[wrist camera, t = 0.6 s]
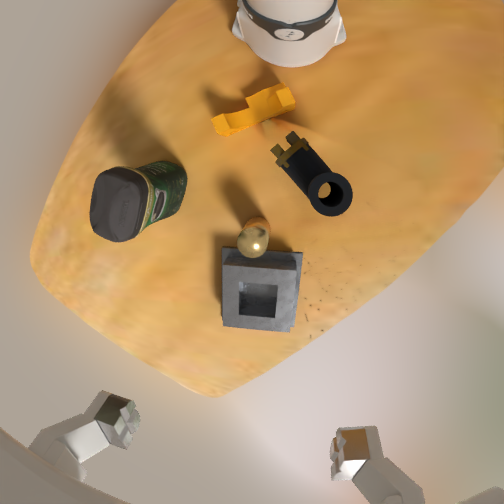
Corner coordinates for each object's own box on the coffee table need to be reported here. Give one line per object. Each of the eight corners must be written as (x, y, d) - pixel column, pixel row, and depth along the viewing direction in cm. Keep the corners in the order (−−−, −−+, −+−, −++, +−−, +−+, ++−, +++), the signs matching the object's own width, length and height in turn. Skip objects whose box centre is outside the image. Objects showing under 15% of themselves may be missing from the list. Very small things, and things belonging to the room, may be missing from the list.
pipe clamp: (283, 86, 40) (283, 76, 34) (294, 109, 41) (295, 102, 35) (216, 114, 43) (206, 108, 37) (226, 136, 44) (217, 134, 38)
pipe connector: (273, 158, 45) (260, 149, 30) (297, 137, 43) (295, 119, 29) (319, 211, 46) (327, 226, 31) (343, 191, 44) (362, 197, 30)
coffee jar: (154, 156, 46) (90, 161, 29) (193, 169, 46) (142, 178, 29) (141, 206, 49) (79, 233, 32) (178, 220, 49) (125, 255, 32)
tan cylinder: (245, 216, 48) (237, 227, 40) (271, 217, 47) (268, 229, 40) (244, 240, 49) (236, 256, 42) (269, 242, 49) (266, 259, 41)
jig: (222, 246, 50) (216, 255, 46) (302, 252, 49) (304, 262, 44) (223, 318, 55) (217, 331, 51) (293, 324, 54) (294, 339, 49)
